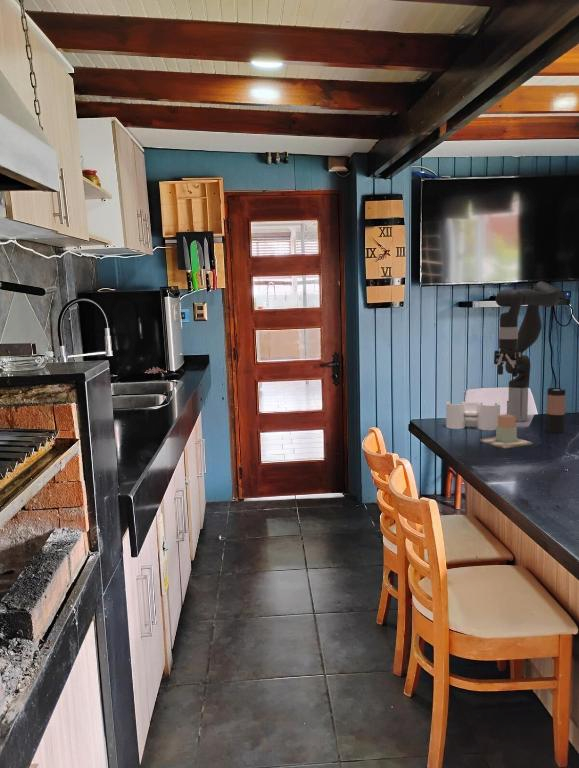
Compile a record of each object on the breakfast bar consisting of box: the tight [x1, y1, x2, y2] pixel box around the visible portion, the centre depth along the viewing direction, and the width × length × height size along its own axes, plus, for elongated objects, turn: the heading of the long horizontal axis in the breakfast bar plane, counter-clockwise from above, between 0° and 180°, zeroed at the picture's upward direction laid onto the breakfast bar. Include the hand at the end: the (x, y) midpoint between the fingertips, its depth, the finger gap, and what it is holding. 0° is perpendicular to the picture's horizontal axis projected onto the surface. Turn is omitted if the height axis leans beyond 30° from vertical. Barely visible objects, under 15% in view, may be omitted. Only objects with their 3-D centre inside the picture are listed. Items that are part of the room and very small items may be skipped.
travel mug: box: [546, 387, 566, 435], centre depth 261 cm, size 8×8×20 cm
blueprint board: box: [480, 436, 533, 449], centre depth 247 cm, size 15×15×1 cm
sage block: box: [495, 426, 518, 443], centre depth 246 cm, size 6×6×6 cm
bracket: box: [445, 401, 501, 431], centre depth 276 cm, size 25×10×12 cm, turn 72°
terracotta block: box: [498, 413, 516, 429], centre depth 245 cm, size 5×5×5 cm
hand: (507, 375), depth 242 cm, fingers open, 8 cm apart
